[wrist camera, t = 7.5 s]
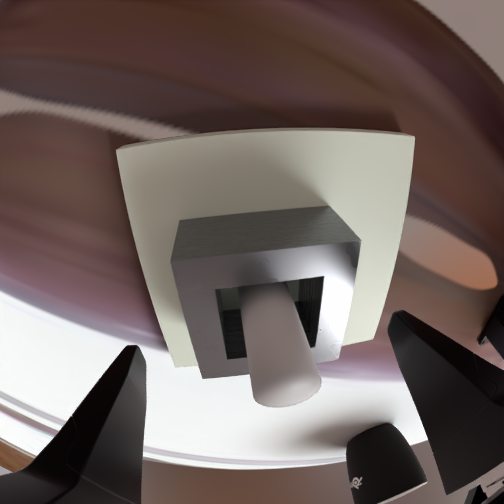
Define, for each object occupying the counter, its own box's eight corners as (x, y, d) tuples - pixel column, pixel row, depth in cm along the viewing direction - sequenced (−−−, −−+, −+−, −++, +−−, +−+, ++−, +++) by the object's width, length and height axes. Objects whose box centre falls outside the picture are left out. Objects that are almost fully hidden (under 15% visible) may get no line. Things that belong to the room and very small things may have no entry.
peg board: (402, 132, 11) (524, 184, 5) (367, 328, 17) (413, 416, 11) (123, 145, 10) (26, 214, 4) (176, 354, 16) (172, 462, 10)
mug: (338, 435, 27) (362, 509, 18) (408, 409, 27) (438, 475, 18) (335, 460, 33) (351, 516, 25) (390, 440, 33) (410, 492, 25)
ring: (329, 205, 12) (361, 240, 9) (319, 315, 15) (338, 359, 12) (179, 220, 11) (170, 261, 8) (202, 330, 14) (202, 378, 12)
